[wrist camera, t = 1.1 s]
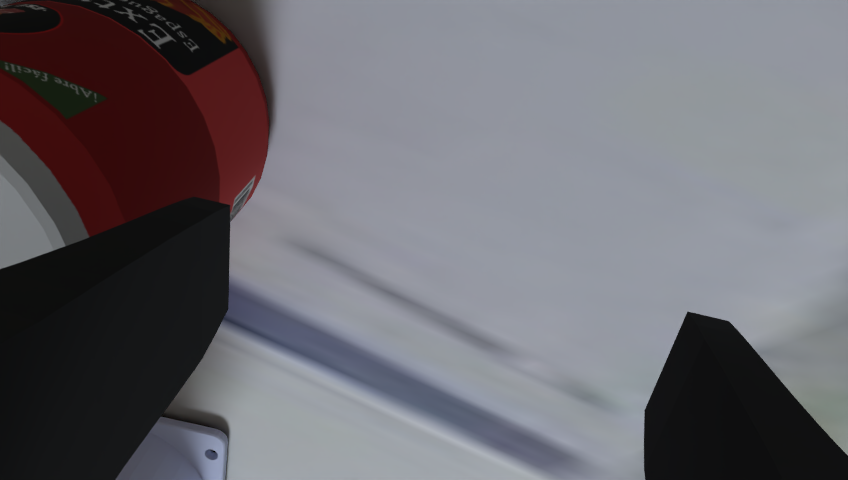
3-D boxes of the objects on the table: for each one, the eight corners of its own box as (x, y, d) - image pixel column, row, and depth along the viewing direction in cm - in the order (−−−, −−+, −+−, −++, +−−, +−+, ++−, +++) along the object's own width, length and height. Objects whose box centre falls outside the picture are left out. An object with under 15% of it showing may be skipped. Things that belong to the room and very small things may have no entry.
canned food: (260, -26, 20) (20, 56, 11) (291, 231, 24) (131, 472, 14) (9, -22, 21) (-426, 58, 12) (74, 226, 25) (-219, 448, 15)
